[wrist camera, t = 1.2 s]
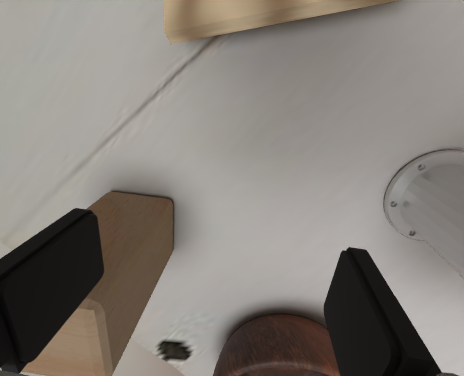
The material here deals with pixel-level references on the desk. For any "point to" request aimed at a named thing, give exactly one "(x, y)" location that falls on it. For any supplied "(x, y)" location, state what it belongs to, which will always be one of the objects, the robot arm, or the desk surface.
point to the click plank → (243, 14)
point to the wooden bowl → (278, 349)
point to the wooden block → (113, 287)
